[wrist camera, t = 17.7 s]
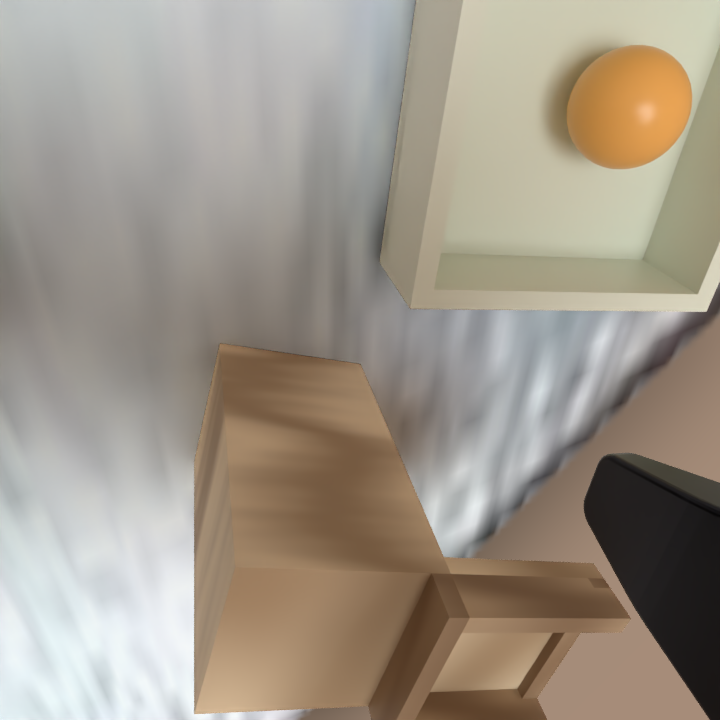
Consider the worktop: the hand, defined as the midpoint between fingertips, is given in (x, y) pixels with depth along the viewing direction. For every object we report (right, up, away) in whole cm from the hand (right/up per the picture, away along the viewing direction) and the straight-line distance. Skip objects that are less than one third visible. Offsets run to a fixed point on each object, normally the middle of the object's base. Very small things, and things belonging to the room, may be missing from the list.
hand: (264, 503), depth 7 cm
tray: (+7, +9, +12) cm, 17 cm away
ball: (+9, +9, +10) cm, 16 cm away
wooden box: (0, -1, +16) cm, 16 cm away
